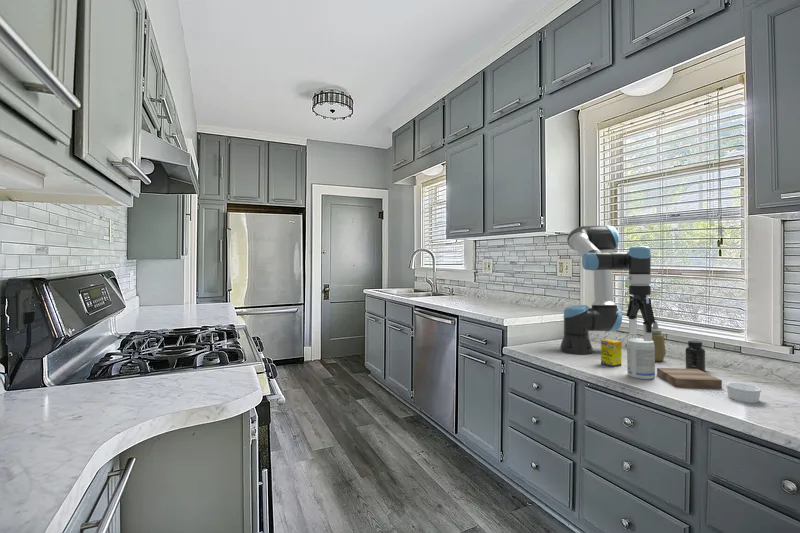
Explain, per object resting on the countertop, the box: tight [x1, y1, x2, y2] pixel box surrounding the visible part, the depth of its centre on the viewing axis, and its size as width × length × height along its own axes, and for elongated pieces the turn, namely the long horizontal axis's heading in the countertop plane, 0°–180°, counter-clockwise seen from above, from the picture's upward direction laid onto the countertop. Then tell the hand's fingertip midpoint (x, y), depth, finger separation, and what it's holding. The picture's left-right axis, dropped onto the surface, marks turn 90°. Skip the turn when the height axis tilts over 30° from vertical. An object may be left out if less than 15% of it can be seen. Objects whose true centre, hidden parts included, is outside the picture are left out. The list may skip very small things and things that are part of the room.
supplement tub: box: [626, 337, 656, 380], centre depth 160 cm, size 10×10×15 cm
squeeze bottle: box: [652, 320, 667, 362], centre depth 185 cm, size 8×8×18 cm
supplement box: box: [600, 338, 622, 368], centre depth 178 cm, size 6×6×11 cm
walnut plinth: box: [656, 367, 723, 390], centre depth 153 cm, size 15×15×3 cm
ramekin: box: [725, 382, 762, 404], centre depth 134 cm, size 9×9×4 cm
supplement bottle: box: [684, 340, 706, 372], centre depth 169 cm, size 7×7×12 cm
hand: (640, 337), depth 160 cm, fingers open, 13 cm apart
